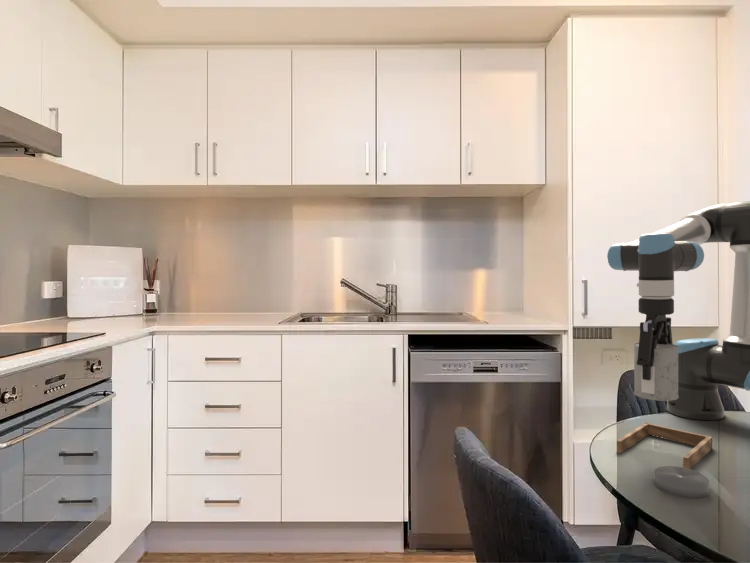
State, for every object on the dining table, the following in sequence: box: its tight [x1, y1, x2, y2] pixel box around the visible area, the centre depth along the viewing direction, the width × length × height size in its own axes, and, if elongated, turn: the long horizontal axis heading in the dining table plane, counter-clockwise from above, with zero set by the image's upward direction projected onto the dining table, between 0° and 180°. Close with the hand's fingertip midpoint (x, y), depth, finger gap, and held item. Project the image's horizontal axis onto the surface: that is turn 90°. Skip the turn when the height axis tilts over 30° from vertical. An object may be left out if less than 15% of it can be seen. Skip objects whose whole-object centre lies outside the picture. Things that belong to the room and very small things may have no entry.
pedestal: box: [653, 465, 710, 499], centre depth 108 cm, size 10×10×2 cm
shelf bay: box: [616, 422, 713, 470], centre depth 128 cm, size 19×16×3 cm
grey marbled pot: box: [633, 342, 679, 402], centre depth 123 cm, size 10×10×12 cm
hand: (655, 388), depth 123 cm, fingers closed on grey marbled pot, 9 cm apart
